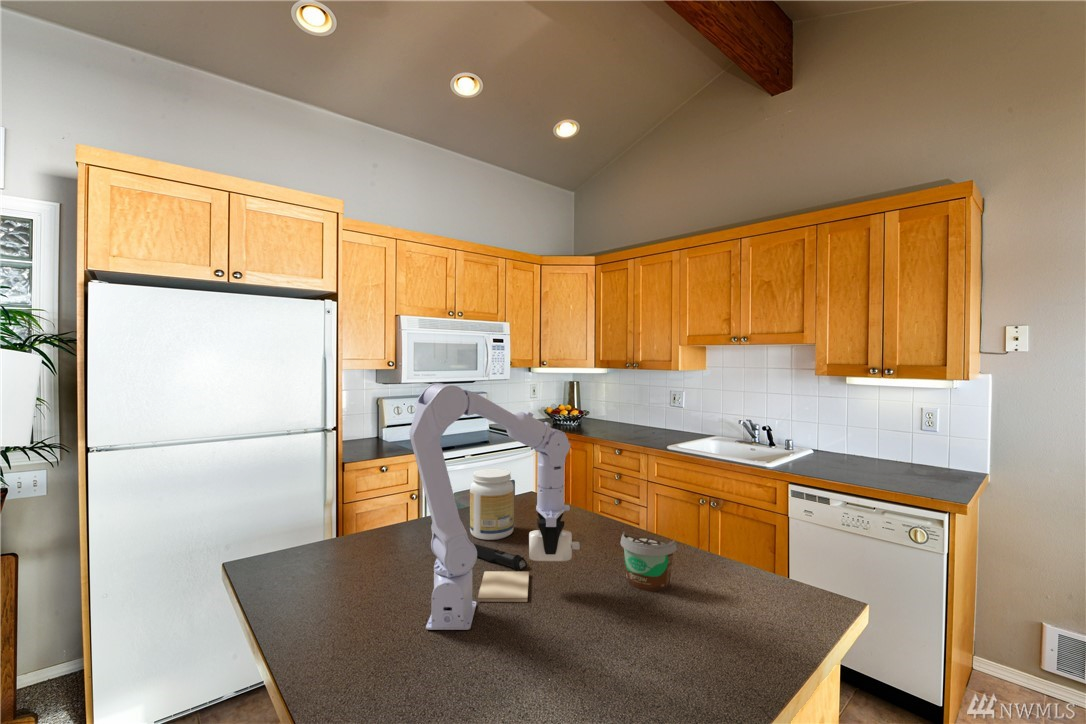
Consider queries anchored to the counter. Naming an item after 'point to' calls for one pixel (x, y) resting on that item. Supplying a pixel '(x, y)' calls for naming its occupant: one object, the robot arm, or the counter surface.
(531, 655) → the counter surface
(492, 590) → the cutting board
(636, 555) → the food container
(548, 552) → the robot arm
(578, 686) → the counter surface
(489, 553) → the electric trimmer
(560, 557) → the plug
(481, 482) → the supplement tub
